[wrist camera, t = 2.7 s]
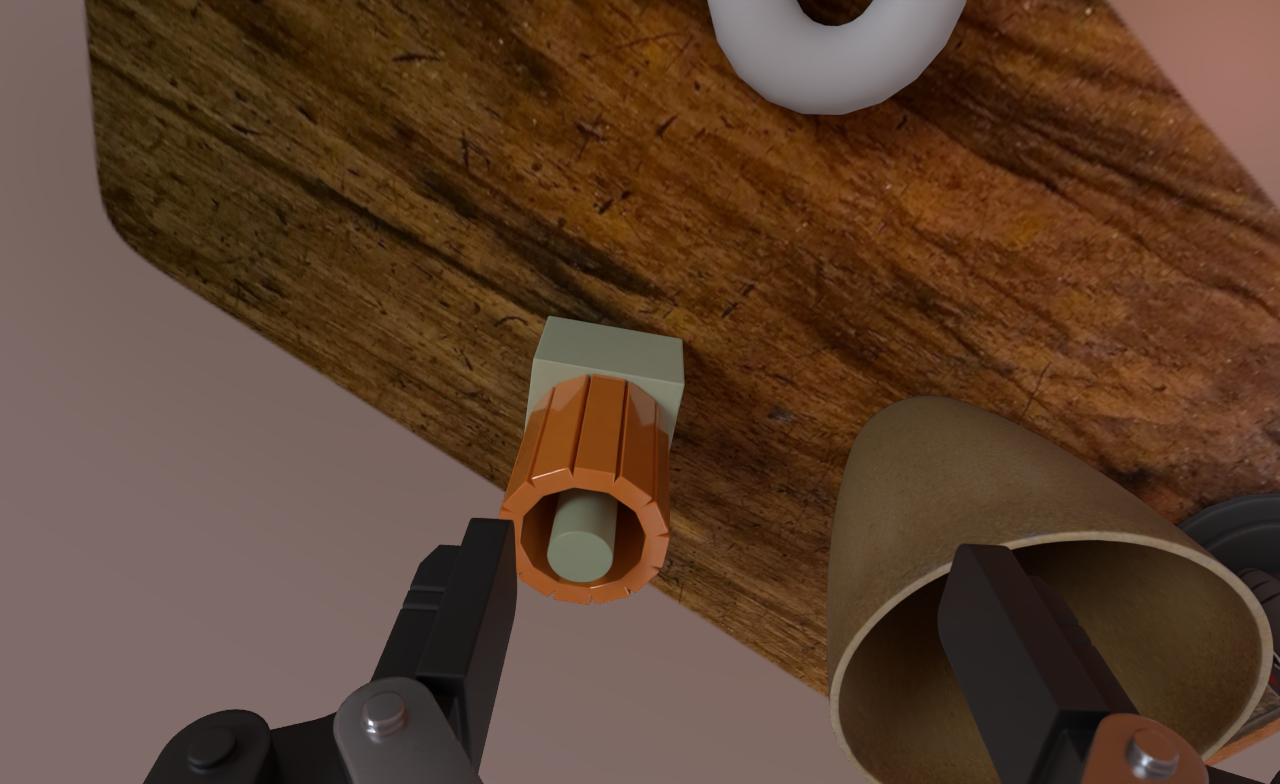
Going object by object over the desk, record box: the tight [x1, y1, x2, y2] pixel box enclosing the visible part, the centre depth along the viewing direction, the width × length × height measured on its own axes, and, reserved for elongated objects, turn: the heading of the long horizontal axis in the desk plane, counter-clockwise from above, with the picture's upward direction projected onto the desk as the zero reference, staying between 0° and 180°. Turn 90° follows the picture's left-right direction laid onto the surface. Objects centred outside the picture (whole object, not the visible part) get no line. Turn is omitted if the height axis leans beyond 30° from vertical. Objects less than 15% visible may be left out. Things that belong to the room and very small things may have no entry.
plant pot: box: [827, 395, 1273, 784], centre depth 34 cm, size 15×15×16 cm
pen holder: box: [499, 373, 670, 605], centre depth 32 cm, size 6×6×8 cm
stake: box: [524, 316, 685, 582], centre depth 34 cm, size 7×7×14 cm
